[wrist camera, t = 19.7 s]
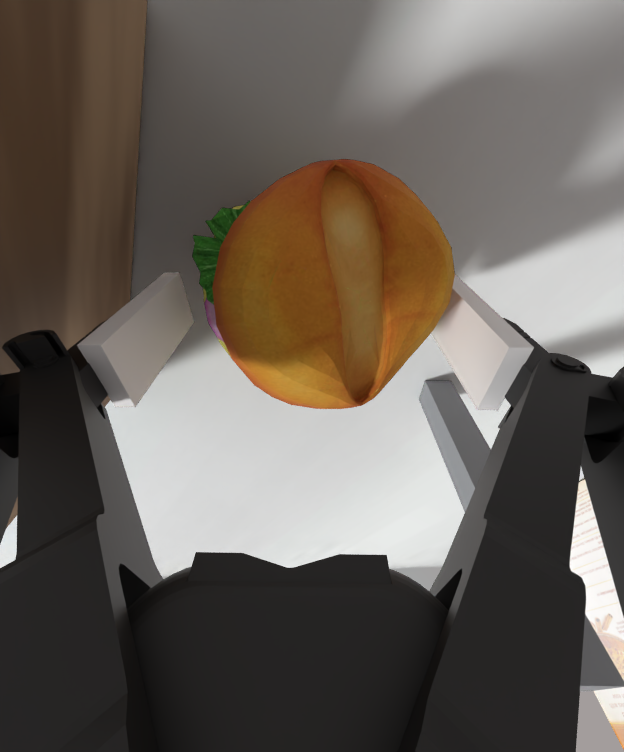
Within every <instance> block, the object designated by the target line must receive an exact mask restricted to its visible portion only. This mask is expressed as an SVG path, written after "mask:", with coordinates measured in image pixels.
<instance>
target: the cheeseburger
mask: <svg viewBox="0 0 624 752" xmlns="http://www.w3.org/2000/svg"><path fill="white" fill-rule="evenodd" d="M205 222H206V223H207V225H208V226H209V228H210V230H211V231H212V233H213V234H214V238H211V237H204V236H197V235H193V239H194V242H195V245H194V250H193V255H192V257H193V259H194V261H195V263H196V265H197V267H198V269H199V271H200V282H199V284H200V285H201V286H202V287H203V293H204V305H205V309H206V314H207V319H208V323H209V325H210V327H211V328H212V330H213V331H214V333H215V334H216V336H217V338H218V340H219V342H220V343H221V345H222V347H223V348H224V349H225V350H226V352H227V353H228V354H229V355H230V357H231V358H232V360H233V361H234V362H235V363H236V364H237V365H238V367H239V368H240V369H241V370H242V371H243V372H244V374H245V375H246V376H247V377H248V378H249V379H250V380H251V382H252V383H253V384H254V385H255V386H257V387H258V388H260V389H261V390H263V391H264V392H266V393H267V394H269V395H270V396H272V397H274V398H276V399H279V400H281V401H284V402H286V403H288V404H291V405H297V406H303V407H310V408H316V409H343V408H351V407H356V406H361V405H363V404H365V403H367V402H368V401H370V400H372V399H373V398H374V397H375V396H376V395H377V394H378V393H379V392H380V391H381V390H382V389H383V388H384V387H385V385H386V384H387V383H388V382H389V381H390V380H391V379H392V377H393V376H394V375H395V374H396V373H397V372H398V371H399V369H400V368H401V367H402V366H403V365H404V363H405V362H406V361H407V360H408V358H409V357H410V356H411V355H412V354H413V353H414V352H415V351H416V350H417V348H418V347H419V346H420V345H421V344H422V343H423V342H424V340H425V339H426V338H427V337H428V336H429V335H430V333H431V332H432V331H433V330H434V328H435V327H436V325H437V323H438V322H439V320H440V318H441V316H442V315H443V313H444V311H445V310H446V308H447V306H448V305H449V303H450V298H451V293H452V287H453V282H454V277H455V273H454V265H453V257H452V249H451V246H450V244H449V242H448V240H447V239H446V237H445V235H444V233H443V231H442V229H441V227H440V225H439V224H438V222H437V220H436V219H435V218H434V216H433V215H432V214H431V212H430V211H429V210H428V209H427V207H426V206H425V205H424V204H423V203H422V201H421V200H420V199H419V198H418V197H417V195H416V194H415V193H414V192H413V191H412V190H411V189H409V188H408V187H407V186H406V185H405V184H404V183H403V182H402V181H401V180H400V179H399V178H397V177H395V176H393V175H392V174H390V173H388V172H386V171H385V170H383V169H381V168H379V167H377V166H376V165H374V164H370V163H365V162H361V161H356V160H348V159H340V160H328V161H319V162H314V163H311V164H309V165H307V166H304V167H302V168H300V169H298V170H296V171H294V172H292V173H290V174H288V175H286V176H284V177H282V178H280V179H279V180H277V181H276V182H275V183H274V184H272V185H271V186H270V187H269V188H267V189H266V190H265V191H264V192H262V193H261V194H260V195H258V196H257V197H256V198H255V199H253V200H252V201H248V202H247V203H246V204H245V205H241V206H236V207H233V208H232V209H230V208H221V210H220V211H219V212H218V213H217V214H216V215H215V216H214V218H213V219H212V220H210V221H208V220H207V221H205Z"/></svg>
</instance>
